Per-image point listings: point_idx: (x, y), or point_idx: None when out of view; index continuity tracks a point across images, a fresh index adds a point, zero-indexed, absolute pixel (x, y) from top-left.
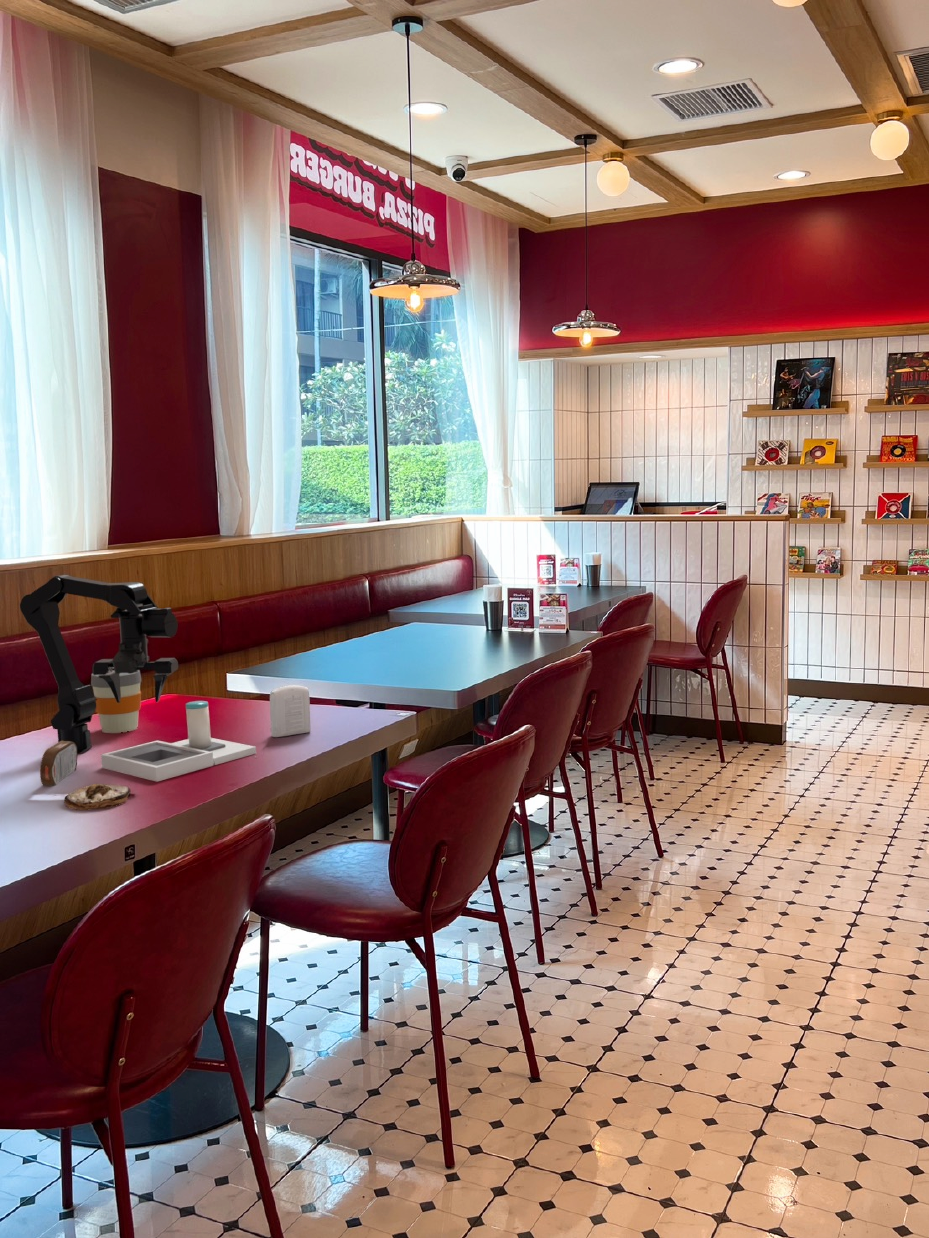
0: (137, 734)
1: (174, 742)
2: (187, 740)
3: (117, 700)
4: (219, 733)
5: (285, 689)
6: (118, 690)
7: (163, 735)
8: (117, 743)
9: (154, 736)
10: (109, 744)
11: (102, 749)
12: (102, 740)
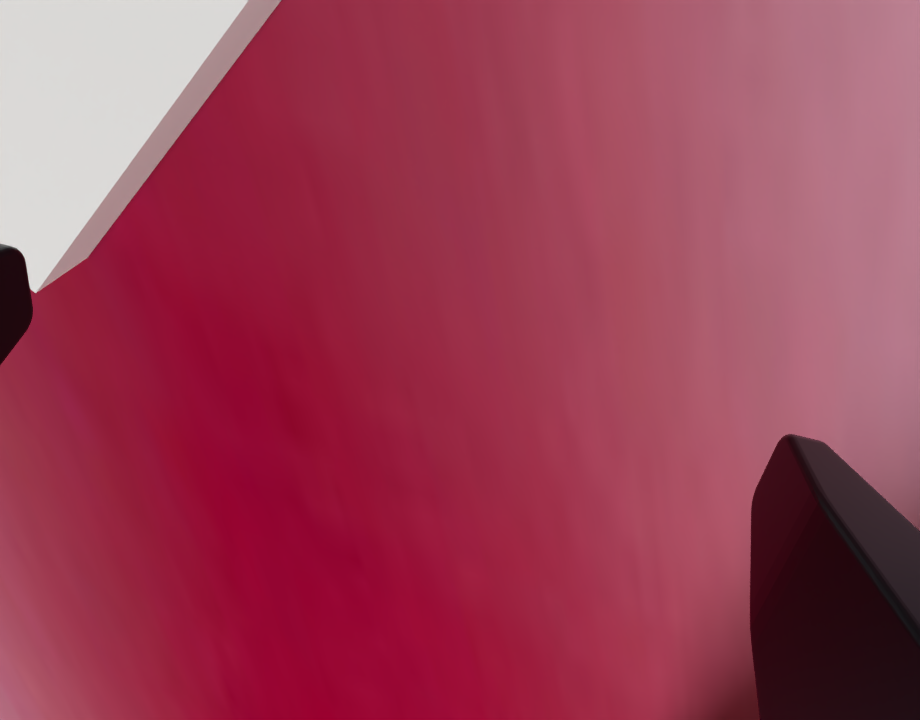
0: (629, 682)
1: (176, 97)
2: (81, 148)
3: (823, 457)
4: (97, 536)
5: None
6: (822, 704)
7: (447, 606)
8: None
9: (504, 603)
10: None
11: (900, 379)
12: None
